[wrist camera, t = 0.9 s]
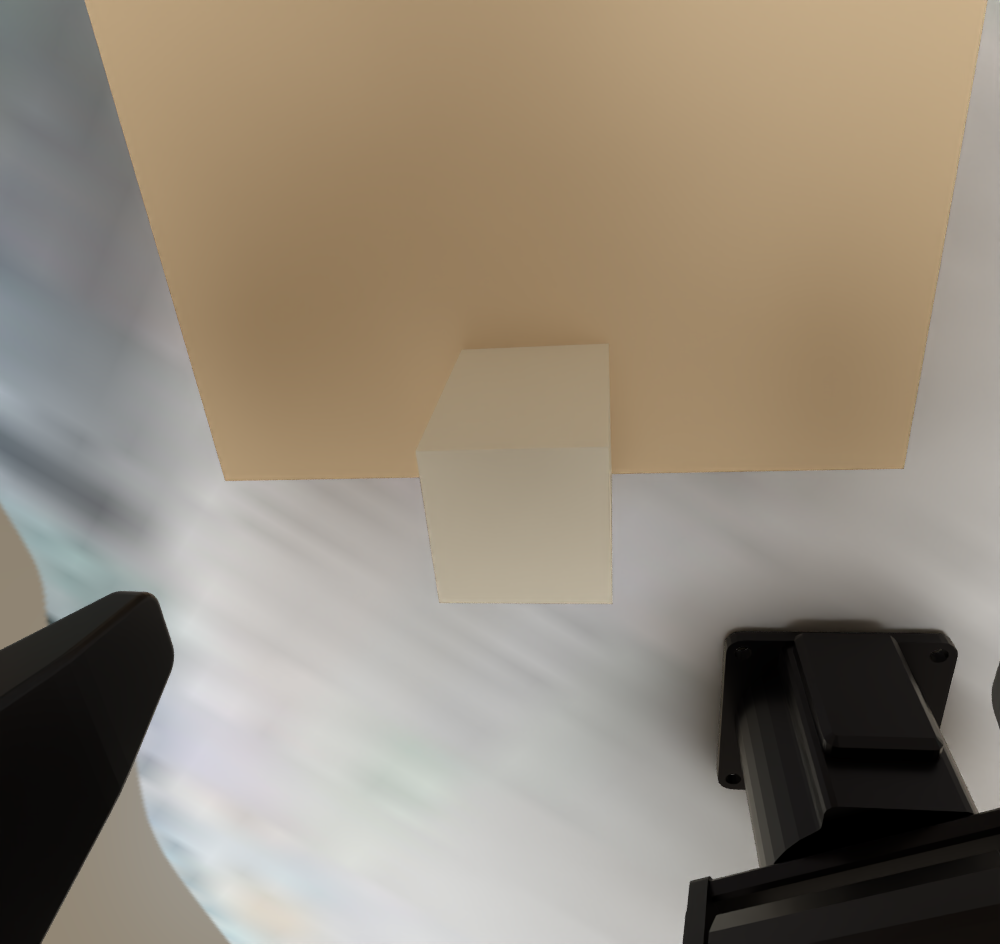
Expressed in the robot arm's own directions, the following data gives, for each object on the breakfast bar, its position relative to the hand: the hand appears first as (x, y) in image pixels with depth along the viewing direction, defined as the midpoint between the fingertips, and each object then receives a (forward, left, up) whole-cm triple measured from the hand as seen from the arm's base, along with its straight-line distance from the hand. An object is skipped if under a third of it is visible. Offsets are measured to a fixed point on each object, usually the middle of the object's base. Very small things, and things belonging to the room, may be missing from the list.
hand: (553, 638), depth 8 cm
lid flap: (+3, +1, -9) cm, 10 cm away
